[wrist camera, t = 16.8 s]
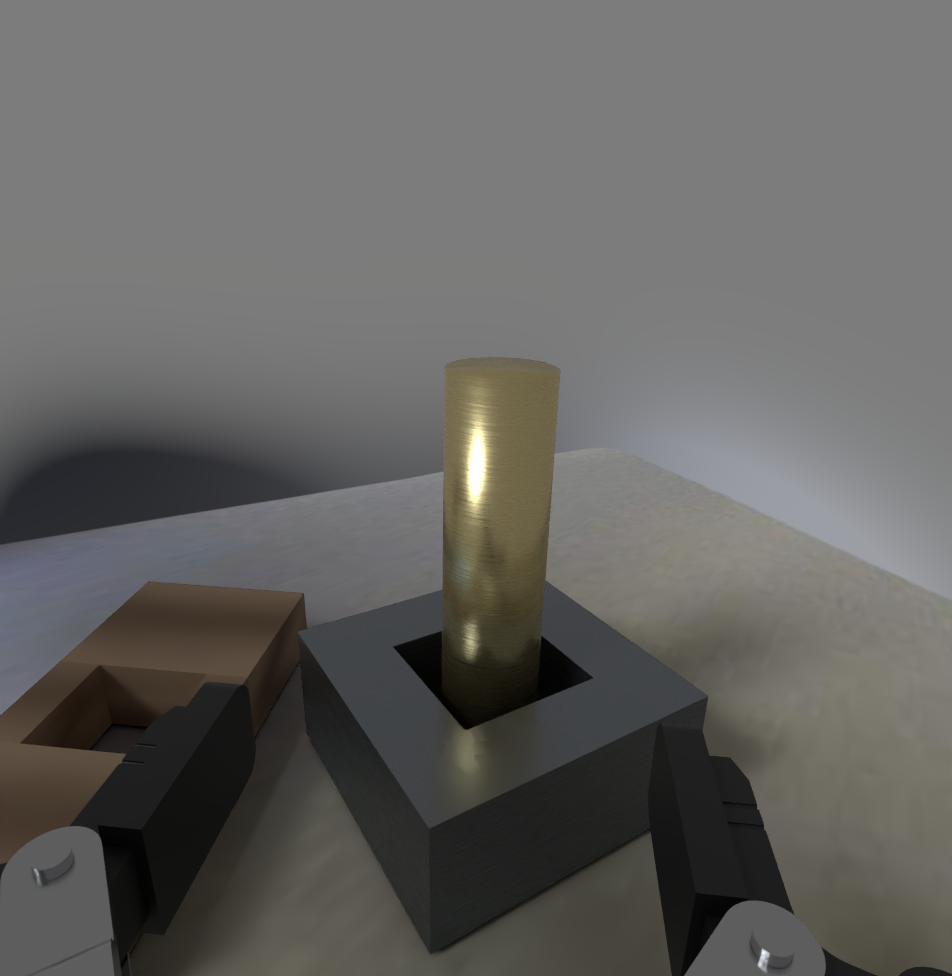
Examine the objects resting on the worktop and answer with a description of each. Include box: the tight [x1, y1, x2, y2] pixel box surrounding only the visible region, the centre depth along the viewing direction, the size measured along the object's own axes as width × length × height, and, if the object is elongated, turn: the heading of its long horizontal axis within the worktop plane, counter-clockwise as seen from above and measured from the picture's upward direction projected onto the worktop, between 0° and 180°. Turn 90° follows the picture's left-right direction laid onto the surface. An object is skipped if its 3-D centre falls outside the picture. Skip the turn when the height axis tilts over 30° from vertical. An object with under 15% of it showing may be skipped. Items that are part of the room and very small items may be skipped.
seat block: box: [298, 581, 708, 954], centre depth 27 cm, size 11×11×5 cm
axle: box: [441, 357, 560, 731], centre depth 25 cm, size 4×4×16 cm
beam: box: [0, 582, 307, 954], centre depth 27 cm, size 18×8×3 cm, turn 174°
